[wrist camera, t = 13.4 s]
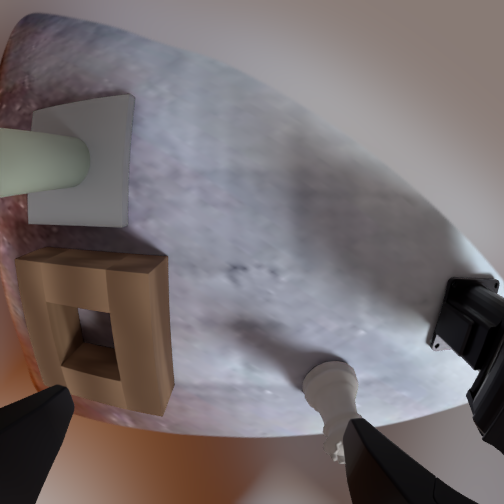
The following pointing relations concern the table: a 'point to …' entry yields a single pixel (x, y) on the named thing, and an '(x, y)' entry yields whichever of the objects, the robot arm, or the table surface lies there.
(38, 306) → the walnut pocket block
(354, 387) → the rook chess piece
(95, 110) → the slate tile
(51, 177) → the sage peg
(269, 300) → the table surface
